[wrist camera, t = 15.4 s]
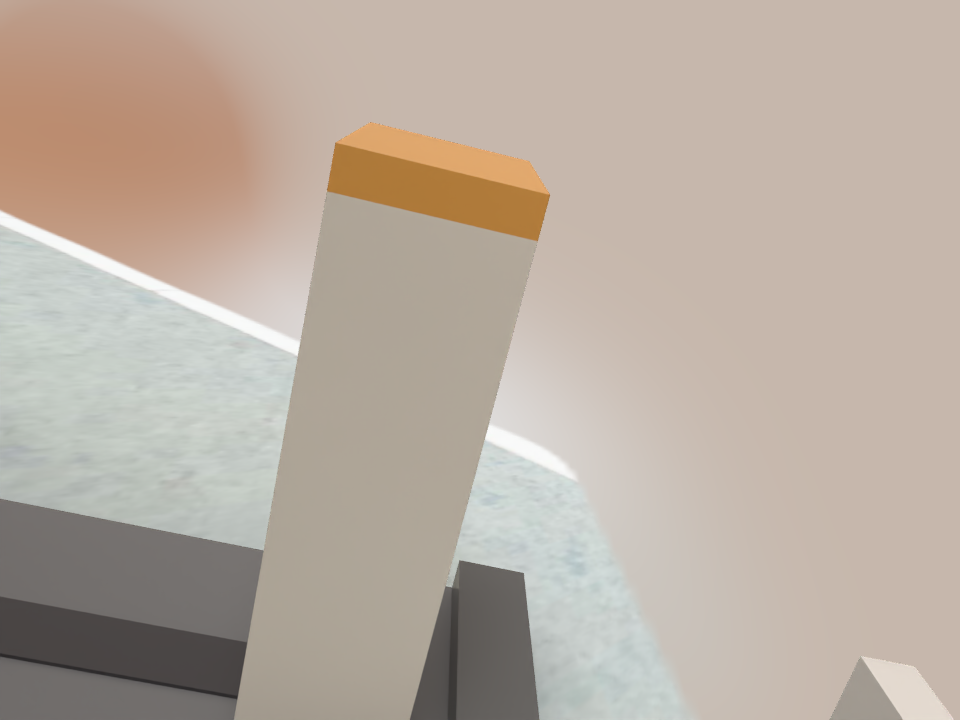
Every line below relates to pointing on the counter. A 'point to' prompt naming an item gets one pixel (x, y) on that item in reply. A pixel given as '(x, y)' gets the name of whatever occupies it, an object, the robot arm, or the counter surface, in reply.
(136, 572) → the dark grey slider track
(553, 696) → the counter surface
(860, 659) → the robot arm
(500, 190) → the handle
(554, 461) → the counter surface
